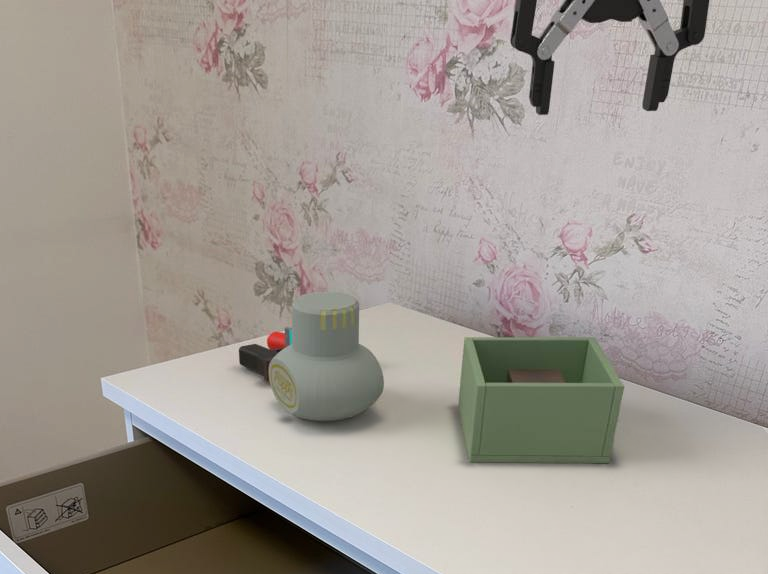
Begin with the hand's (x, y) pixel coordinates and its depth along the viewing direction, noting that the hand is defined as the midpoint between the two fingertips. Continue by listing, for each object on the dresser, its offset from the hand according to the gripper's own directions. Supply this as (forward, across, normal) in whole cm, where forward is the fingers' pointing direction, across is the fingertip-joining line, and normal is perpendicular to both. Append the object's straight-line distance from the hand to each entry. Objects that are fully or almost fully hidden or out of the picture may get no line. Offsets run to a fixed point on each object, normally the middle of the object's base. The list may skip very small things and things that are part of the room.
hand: (595, 111), depth 76 cm
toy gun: (+24, +25, -8) cm, 35 cm away
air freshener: (+23, +22, +4) cm, 32 cm away
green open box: (+24, +4, +10) cm, 26 cm away
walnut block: (+23, +4, +10) cm, 25 cm away
